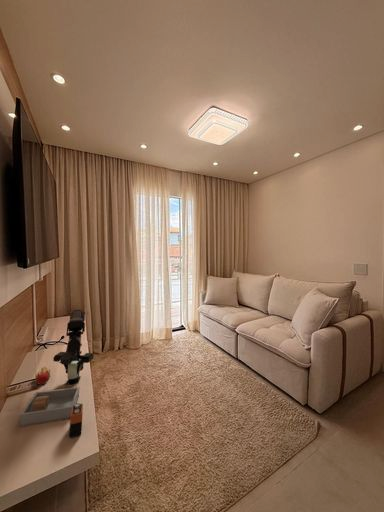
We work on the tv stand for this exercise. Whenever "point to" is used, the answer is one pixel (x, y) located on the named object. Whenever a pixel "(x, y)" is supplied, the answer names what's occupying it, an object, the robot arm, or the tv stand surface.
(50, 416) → the tote
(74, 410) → the battery
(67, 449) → the tv stand surface
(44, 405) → the walnut cube
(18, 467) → the tv stand surface
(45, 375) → the kendama
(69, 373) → the sage capsule
